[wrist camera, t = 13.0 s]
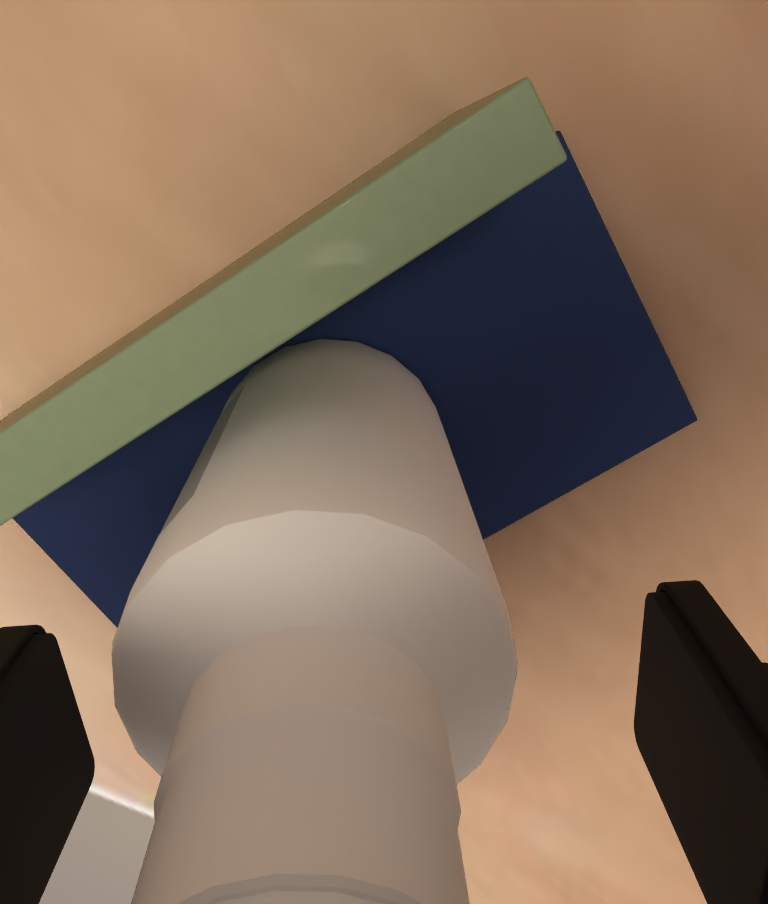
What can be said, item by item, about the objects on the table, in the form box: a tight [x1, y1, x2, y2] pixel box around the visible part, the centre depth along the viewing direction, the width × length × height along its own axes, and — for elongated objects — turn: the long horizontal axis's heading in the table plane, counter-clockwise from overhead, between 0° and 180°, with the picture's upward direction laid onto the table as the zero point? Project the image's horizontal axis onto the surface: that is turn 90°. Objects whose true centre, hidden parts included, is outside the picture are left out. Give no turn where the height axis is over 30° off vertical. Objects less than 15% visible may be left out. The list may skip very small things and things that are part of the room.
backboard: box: [0, 77, 567, 526], centre depth 17 cm, size 2×16×8 cm, turn 122°
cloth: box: [13, 131, 697, 628], centre depth 22 cm, size 10×20×1 cm, turn 122°
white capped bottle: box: [112, 339, 517, 904], centre depth 14 cm, size 7×7×18 cm
